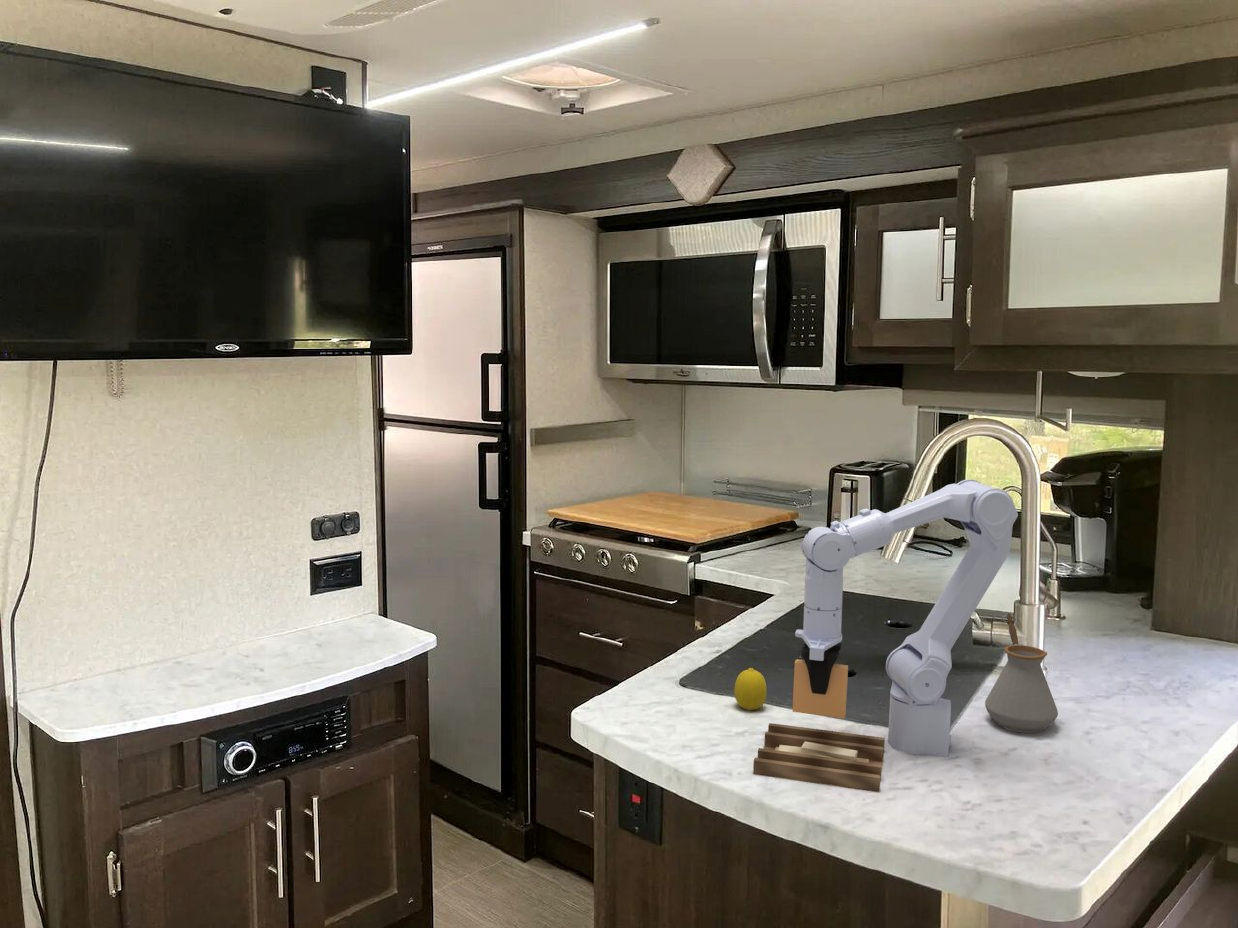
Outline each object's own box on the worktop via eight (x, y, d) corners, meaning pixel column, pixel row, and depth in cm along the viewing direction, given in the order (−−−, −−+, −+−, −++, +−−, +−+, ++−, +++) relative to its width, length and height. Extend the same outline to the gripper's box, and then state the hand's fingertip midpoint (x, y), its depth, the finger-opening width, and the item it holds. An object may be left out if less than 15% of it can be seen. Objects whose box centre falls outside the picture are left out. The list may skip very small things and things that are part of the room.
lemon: (744, 703, 175) (746, 660, 174) (772, 711, 171) (773, 667, 170) (727, 713, 171) (728, 668, 169) (755, 721, 167) (756, 676, 166)
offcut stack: (868, 762, 149) (869, 749, 149) (867, 772, 146) (867, 759, 146) (776, 750, 153) (776, 737, 153) (772, 759, 150) (773, 746, 150)
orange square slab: (845, 714, 153) (848, 665, 152) (844, 718, 152) (847, 668, 151) (793, 707, 156) (796, 659, 155) (792, 711, 154) (794, 662, 153)
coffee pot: (1064, 740, 160) (1070, 651, 158) (989, 734, 163) (995, 646, 161) (1036, 693, 181) (1042, 614, 179) (970, 688, 183) (975, 610, 181)
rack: (884, 752, 155) (885, 734, 155) (878, 798, 140) (879, 778, 140) (770, 737, 160) (770, 720, 160) (752, 780, 145) (753, 760, 145)
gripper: (802, 591, 160) (799, 672, 161) (790, 616, 146) (787, 704, 148) (847, 595, 157) (844, 677, 159) (838, 620, 144) (835, 710, 146)
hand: (819, 690), depth 153 cm, fingers closed on orange square slab, 2 cm apart
